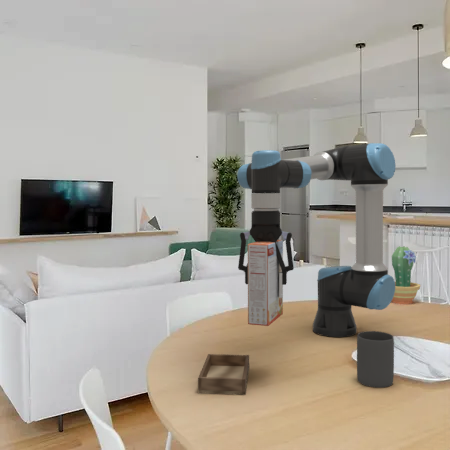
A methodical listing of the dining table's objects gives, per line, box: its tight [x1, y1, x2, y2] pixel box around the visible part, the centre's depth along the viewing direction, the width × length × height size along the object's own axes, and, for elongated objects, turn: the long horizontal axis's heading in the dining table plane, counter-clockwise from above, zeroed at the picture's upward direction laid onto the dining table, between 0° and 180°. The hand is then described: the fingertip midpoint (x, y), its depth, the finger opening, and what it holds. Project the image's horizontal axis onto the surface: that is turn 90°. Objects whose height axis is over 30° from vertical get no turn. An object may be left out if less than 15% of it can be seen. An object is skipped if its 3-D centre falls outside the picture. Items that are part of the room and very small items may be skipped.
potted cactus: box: [391, 245, 421, 305], centre depth 222 cm, size 15×15×25 cm
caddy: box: [197, 353, 250, 395], centre depth 130 cm, size 12×19×4 cm, turn 174°
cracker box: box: [247, 239, 284, 327], centre depth 131 cm, size 14×6×21 cm, turn 158°
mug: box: [356, 330, 395, 389], centre depth 130 cm, size 14×9×12 cm
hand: (265, 296), depth 131 cm, fingers closed on cracker box, 7 cm apart
